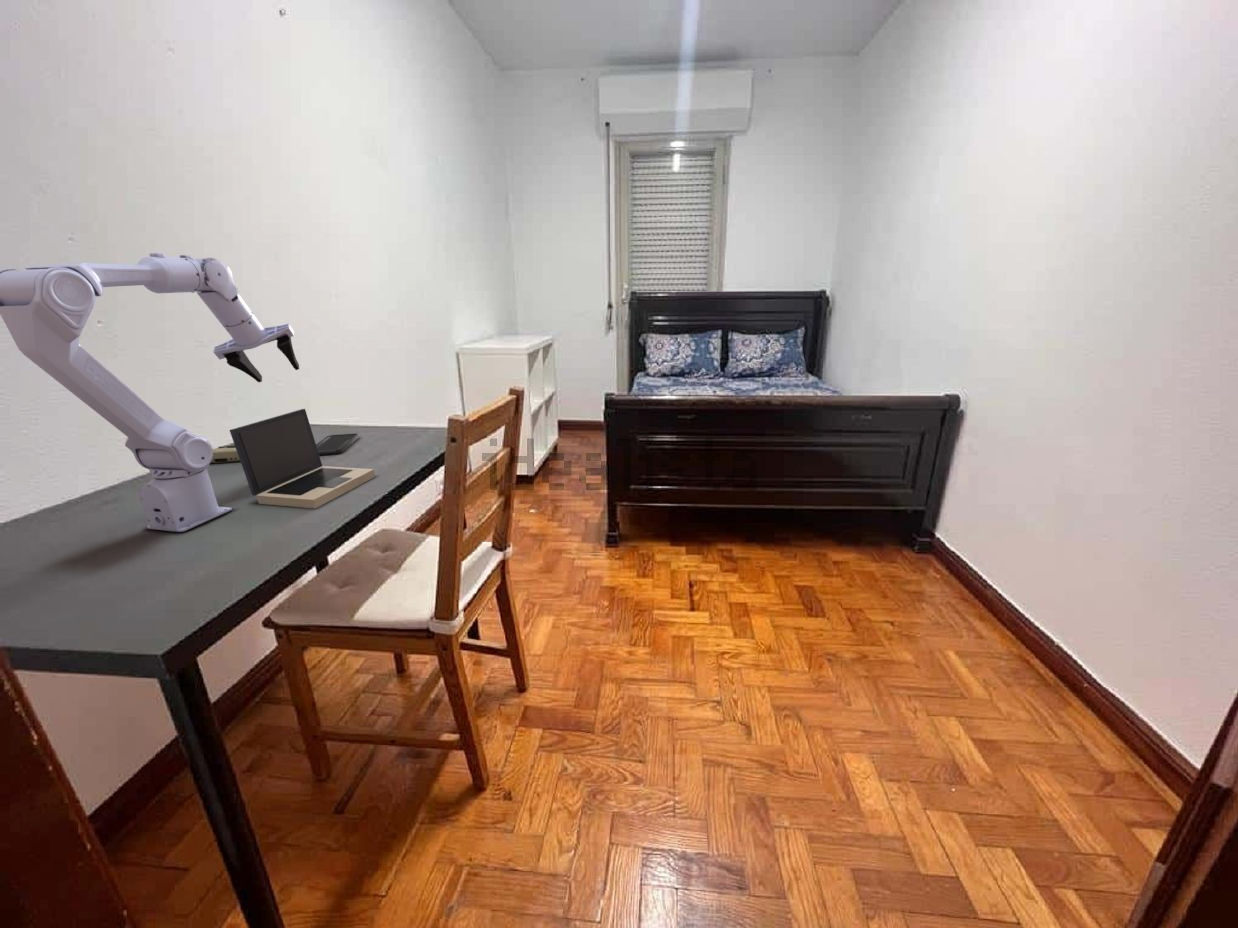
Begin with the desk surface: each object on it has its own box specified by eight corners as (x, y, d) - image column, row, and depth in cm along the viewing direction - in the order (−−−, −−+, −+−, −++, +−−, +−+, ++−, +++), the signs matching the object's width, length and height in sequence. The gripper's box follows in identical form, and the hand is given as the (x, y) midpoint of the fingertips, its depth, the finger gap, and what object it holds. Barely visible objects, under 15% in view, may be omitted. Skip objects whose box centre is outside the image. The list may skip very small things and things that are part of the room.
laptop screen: (305, 408, 110) (302, 408, 110) (232, 429, 95) (229, 430, 95) (322, 465, 114) (319, 466, 114) (256, 495, 99) (252, 495, 99)
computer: (292, 449, 133) (289, 437, 132) (278, 459, 125) (275, 446, 124) (226, 454, 131) (222, 441, 129) (207, 464, 123) (203, 451, 122)
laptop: (375, 476, 112) (373, 468, 111) (315, 508, 96) (313, 499, 96) (324, 473, 115) (322, 465, 114) (258, 503, 99) (256, 494, 99)
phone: (306, 451, 127) (328, 435, 141) (307, 456, 127) (329, 439, 141) (340, 449, 128) (359, 433, 142) (341, 453, 128) (360, 437, 142)
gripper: (275, 297, 105) (312, 352, 115) (199, 320, 101) (244, 375, 112) (275, 313, 100) (314, 369, 110) (195, 338, 97) (242, 393, 107)
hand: (279, 373), depth 111 cm, fingers open, 7 cm apart
